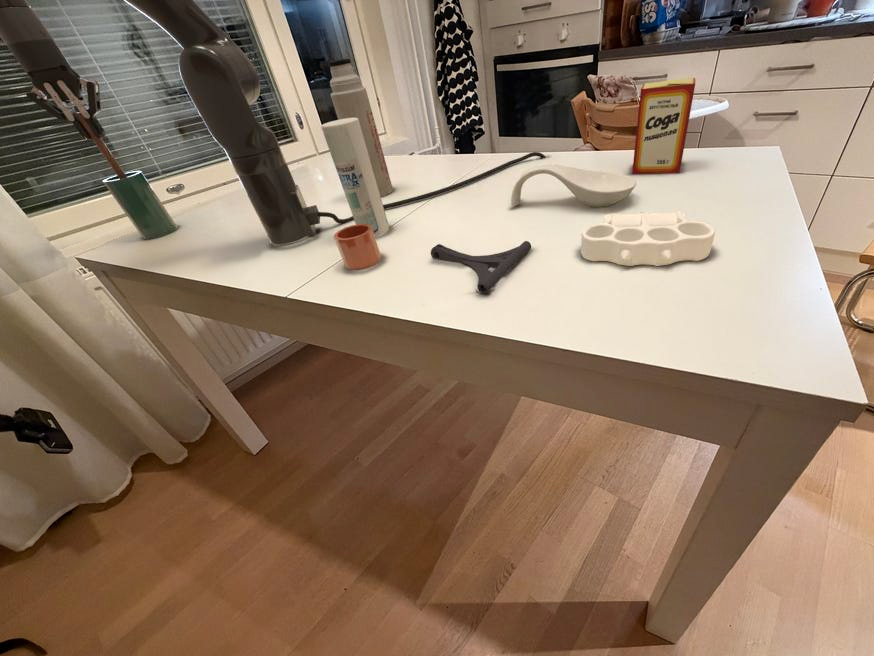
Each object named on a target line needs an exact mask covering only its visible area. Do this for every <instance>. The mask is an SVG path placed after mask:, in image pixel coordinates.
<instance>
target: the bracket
mask: <svg viewBox="0 0 874 656" xmlns="http://www.w3.org/2000/svg"><path fill="white" fill-rule="evenodd" d="M531 249H532V243H531V242H529V241H528V240H524V241H523V242H522V243H521V244H520V245H519V246H516V247H513V248H511V249H508V250H506V251H505V250H504V251H501V252H497V253H493V254H485V255H484V254H483V255H471V254H467V253H464V252H460V251H457V250H455V249H452V248H449V247H447V246H445V245H443V244H440V243H438V244H436V245H435V246H433V247H432V248H431V249H430V256H431V258H432V260H433V259H434V260H439V261H446V262H452V263H458V264H459V263H460V264H464V265H466V266H468V267H470V268H471V269H473V270H474V271H475V273H476V275H477V277H478V279H477V286H476V287H477V291H478V292H479V293H481V294H484V295H485V294H487V293H488V292H489V291H491V290H492V288H494V286H495V285H496V284H497V283H498V282H499V281H500V280H501V279H502V278H503V277H504V276H505V275H506V274H508V272H509V271H510V270H511V269H512V268H514V266H515V265H516V264H518V263H519V262H520V261H521V259H522V258H524V257H525V256H526V255H527V254H528V252H529V251H530V250H531ZM489 268H492V269H493V270H492V271H491V270H489Z"/></svg>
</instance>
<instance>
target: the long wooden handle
mask: <svg viewBox="0 0 874 656" xmlns="http://www.w3.org/2000/svg"><path fill="white" fill-rule="evenodd" d="M74 114H75V115H76V117H77V118H78V120H79V121H80V122H81V124H82V125H83V127H84V128H85V130H86V131H87V133H88V134H89V135H90V137H91V138H92V140H91V141H93V142H94V144H95V146H96V147H97V148H98V150H99V152H100V153H101V154H102V156H103V157H104V159H105V160H106V161H107V163H108V164H109V166H110V168H111V169H112V170H113V171H114V173H115V174H116V176H118V177H119V179H121V178H125V177H127V176H126V174H125V173H126V172H125V171H124V170H123V168H122V166H121V165H120V164H119V162H118V161H117V160H116V158H115V156H114V155H113V153H112V152H111V151H110V149H109V148H108V146H107V145H106V143H105V142H104V139H102V138H98V137H97V136H96V135H95V133H94V132H93V130H92V129H91V128H90V126H89V125H88V123H87V122H86V120H85V119H86V118H85V117H84V116H83V115H82V113H81V112H80V111H79V112H77V113H74Z"/></svg>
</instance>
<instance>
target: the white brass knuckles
mask: <svg viewBox="0 0 874 656" xmlns="http://www.w3.org/2000/svg"><path fill="white" fill-rule="evenodd" d="M715 235H716V230H715V228H714V227H713V226H712V225H711V224H709V223H705V222H702V221H698V220H697V221H696V220H695V221H694V220H689V219H687V218H686V217H685V214H684V212H682V211H681V210H678V211H675V212H657V213H656V212H655V213H647V212H640V213H628V214H627V213H626V214H624V213H623V214H612V213H607V214H606V215H604V222H602V223H597V224H593V225H590V226H587V227H586V228H584V229H583V230H582V232H581V239H580V241H581V242H580V253H581V254H580V255H581V256H582V257H583V258H584V259H585V260H587V261H589V262H610V263H614V264H616V265H619V266H626V267H627V266H628V267H633V266H639V265H647V266H653V267H660V266H667V265H671V264H675V263H677V262H682V261H695V262H697V261H703V260H704V259H706V258H707V257H708V256H709V255H710V254H711V250H712V247H713V242H714V239H715Z"/></svg>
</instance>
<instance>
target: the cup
mask: <svg viewBox="0 0 874 656" xmlns="http://www.w3.org/2000/svg"><path fill="white" fill-rule="evenodd" d="M124 173H125V174H126V176H127V177H125V178H121V179H119V177H118V176H117V175H114V176H110V177H108V178H106V179H103V180H102V183H103V184H104V185H105V187H106V188H107V190H108V191H109V193H110V194H111V195H112V197H113V199H114V200H115V201H116V202H117V204H118V205H119V207H120V208H121V209H122V211H123V212H124V213H125V215H126V216H127V217H128V219H129V221H130V222H131V223H132V225H133V226H134V227H135V229H136V230H137V231H138V233H139V235H141V237H142V238H143V239H144V240H152V239H157V238H161V237H164V236H167V235H170V234H172V233H173V232H175V231H176V230H178V226H177V224H176V222H175V221H174V220H173V218H172V216H171V215H170V214H169V212H168V210H167V209H166V207H165V206H164V204H163V203H162V201H161V199H160V198H159V196H158V195H157V194H156V192H155V190H154V189H153V187H152V186H151V184H150V183H149V181H148V179H147V178H146V177H145V175H144V174H143V171H141V170H135V171H129V172H124Z"/></svg>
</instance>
